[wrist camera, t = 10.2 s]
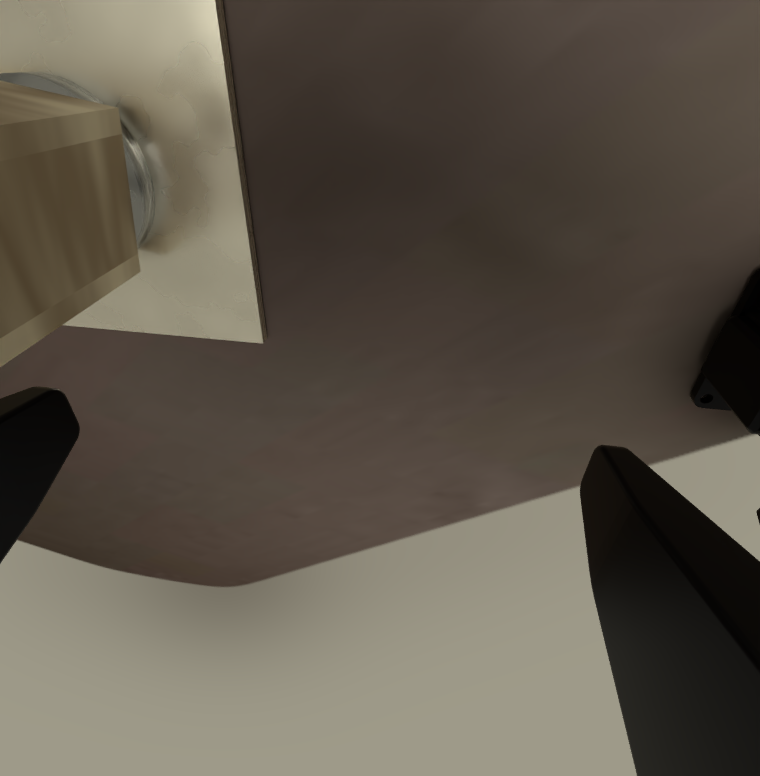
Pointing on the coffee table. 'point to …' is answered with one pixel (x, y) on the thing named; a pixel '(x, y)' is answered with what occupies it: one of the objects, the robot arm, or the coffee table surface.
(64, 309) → the sleeve
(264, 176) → the coffee table surface
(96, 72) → the square metal plate
